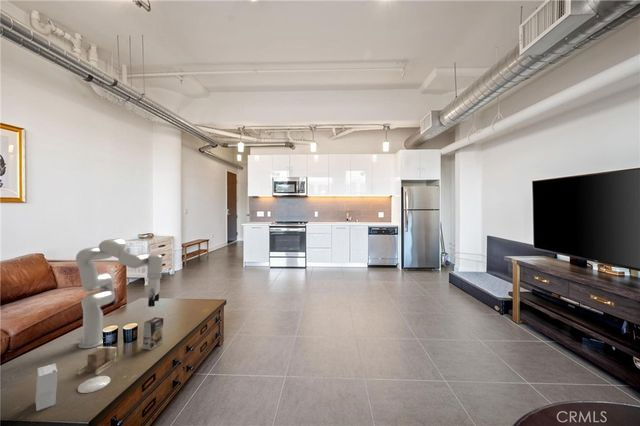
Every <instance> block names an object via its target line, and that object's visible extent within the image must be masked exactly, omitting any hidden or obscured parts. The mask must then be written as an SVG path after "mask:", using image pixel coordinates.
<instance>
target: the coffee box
mask: <svg viewBox="0 0 640 426" xmlns="http://www.w3.org/2000/svg"><path fill="white" fill-rule="evenodd" d="M163 337H164V317H156V316H155V317H153V318H151V319H149V320H147V321H144V322H143V337H142V339H143V340H142V349H143V350H148V351H151V350H153V349H154V350H155V348H156V347H159V346H160V345H162V344H163V340H164V338H163Z"/></svg>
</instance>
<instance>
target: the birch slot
mask: <svg viewBox="0 0 640 426" xmlns="http://www.w3.org/2000/svg"><path fill="white" fill-rule="evenodd" d="M96 349H99V350H105V364H104V365H103V366H102V367H100V368H99V369H97V370H96V372H94V373H95V376H99V375H100V374H101V373H103V372H104V371H106V370H107V369H108V368H110V367H111V366H112V365H114V364H115V363H117V354H118V353H117V350H118V348H117V347H116V346H96V347H95V350H96ZM84 372H87V363H86V364H85V365H83V366H82V367H80V368H78V370H77V375H81V374H83V373H84Z"/></svg>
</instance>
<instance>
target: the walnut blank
mask: <svg viewBox="0 0 640 426" xmlns="http://www.w3.org/2000/svg"><path fill="white" fill-rule="evenodd" d="M86 364H87V370H86V372H89V373H96V370H97V369H99V368H100V367H102V366H103V365H104V364H106V363H105V350H99V349H96V348H95V349H94V350H92V351H91V352H89V353H88V354H87V362H86Z"/></svg>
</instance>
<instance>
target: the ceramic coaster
mask: <svg viewBox="0 0 640 426" xmlns="http://www.w3.org/2000/svg"><path fill="white" fill-rule="evenodd" d="M110 383H111V377H109V376H108V375H100V376H99V375H98V376H95V377H92V378H89V379H86V380H85V381H84V382H82V383H80V384H79V385H78V387H77V392H78V393H80V394H90V393H94V392H97V391H99V390H101V389H104V388H106V387H107V386H108V385H109V384H110Z"/></svg>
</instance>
